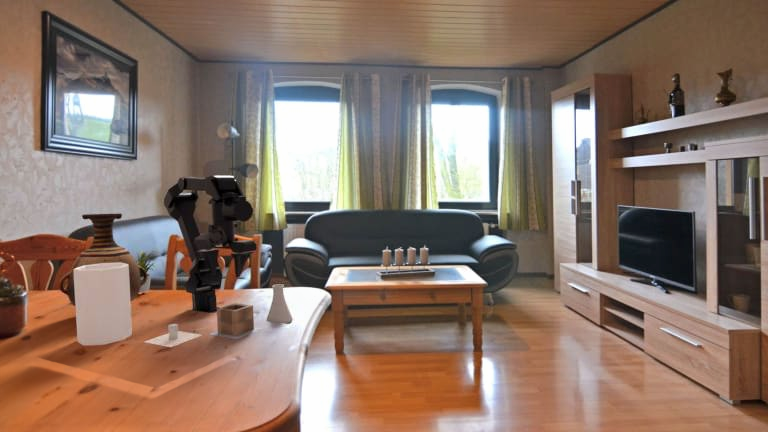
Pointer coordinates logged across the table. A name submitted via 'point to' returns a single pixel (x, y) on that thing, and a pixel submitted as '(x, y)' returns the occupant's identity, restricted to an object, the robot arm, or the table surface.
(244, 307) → the walnut collar
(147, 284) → the house plant
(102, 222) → the vase
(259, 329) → the plate
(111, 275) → the cup
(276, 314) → the flask
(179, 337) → the rod stand
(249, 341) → the table surface
